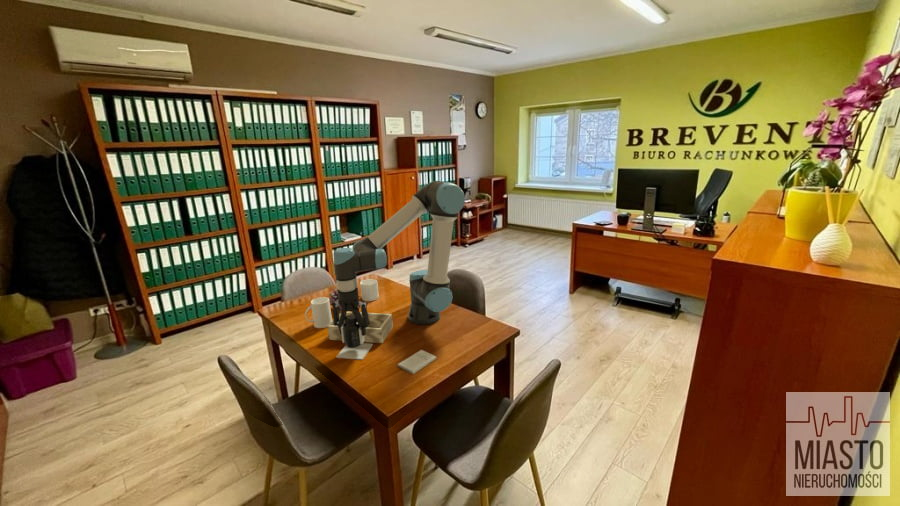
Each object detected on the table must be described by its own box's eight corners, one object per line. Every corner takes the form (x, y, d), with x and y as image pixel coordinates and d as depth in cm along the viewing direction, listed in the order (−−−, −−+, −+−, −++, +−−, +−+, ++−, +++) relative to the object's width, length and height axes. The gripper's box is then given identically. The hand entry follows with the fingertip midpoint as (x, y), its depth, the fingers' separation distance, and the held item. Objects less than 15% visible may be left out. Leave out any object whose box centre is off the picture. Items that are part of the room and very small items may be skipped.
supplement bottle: (364, 339, 148) (361, 312, 144) (360, 348, 141) (358, 320, 137) (347, 339, 147) (344, 313, 144) (343, 348, 141) (340, 321, 137)
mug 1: (309, 332, 161) (305, 308, 157) (304, 325, 167) (300, 302, 164) (335, 324, 168) (332, 300, 164) (329, 317, 174) (325, 295, 171)
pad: (373, 344, 149) (373, 343, 149) (362, 359, 139) (362, 358, 139) (348, 342, 151) (348, 342, 151) (336, 357, 141) (336, 356, 141)
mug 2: (382, 298, 195) (380, 282, 192) (367, 302, 189) (365, 286, 187) (371, 291, 204) (369, 276, 201) (356, 296, 198) (354, 280, 196)
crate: (393, 326, 163) (391, 314, 161) (382, 343, 150) (381, 329, 148) (343, 324, 167) (342, 311, 166) (329, 339, 154) (327, 326, 152)
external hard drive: (397, 367, 134) (421, 352, 144) (413, 375, 129) (436, 359, 138) (397, 363, 134) (420, 349, 143) (412, 371, 129) (436, 356, 138)
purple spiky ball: (329, 305, 188) (326, 284, 184) (353, 302, 191) (350, 281, 188) (328, 314, 177) (325, 292, 174) (353, 311, 180) (351, 289, 177)
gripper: (375, 285, 139) (380, 338, 146) (328, 283, 142) (335, 335, 149) (368, 293, 132) (373, 348, 139) (318, 291, 135) (326, 344, 142)
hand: (353, 341), depth 144 cm, fingers closed on supplement bottle, 7 cm apart
